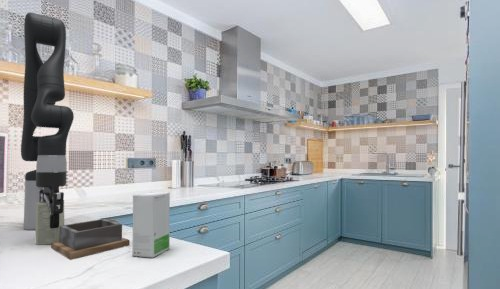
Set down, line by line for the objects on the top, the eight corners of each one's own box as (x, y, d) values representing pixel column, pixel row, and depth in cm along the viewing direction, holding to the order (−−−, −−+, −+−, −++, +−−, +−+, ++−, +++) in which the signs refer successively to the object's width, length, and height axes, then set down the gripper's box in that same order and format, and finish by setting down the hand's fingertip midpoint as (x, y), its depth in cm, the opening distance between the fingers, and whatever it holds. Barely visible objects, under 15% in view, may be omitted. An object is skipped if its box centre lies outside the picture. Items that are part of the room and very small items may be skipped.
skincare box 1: (64, 239, 88) (65, 199, 89) (58, 243, 84) (59, 201, 85) (41, 241, 87) (42, 200, 88) (33, 245, 83) (35, 202, 83)
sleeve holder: (50, 247, 80) (51, 226, 81) (105, 236, 92) (106, 217, 92) (70, 259, 71) (71, 234, 71) (129, 245, 82) (129, 224, 83)
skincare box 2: (152, 258, 71) (153, 195, 72) (129, 256, 73) (130, 194, 74) (170, 248, 79) (171, 191, 80) (149, 246, 81) (150, 191, 82)
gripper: (29, 170, 88) (28, 225, 88) (44, 171, 79) (42, 232, 78) (57, 169, 94) (56, 220, 93) (74, 170, 85) (73, 227, 84)
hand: (50, 225), depth 86 cm, fingers closed on skincare box 1, 7 cm apart
